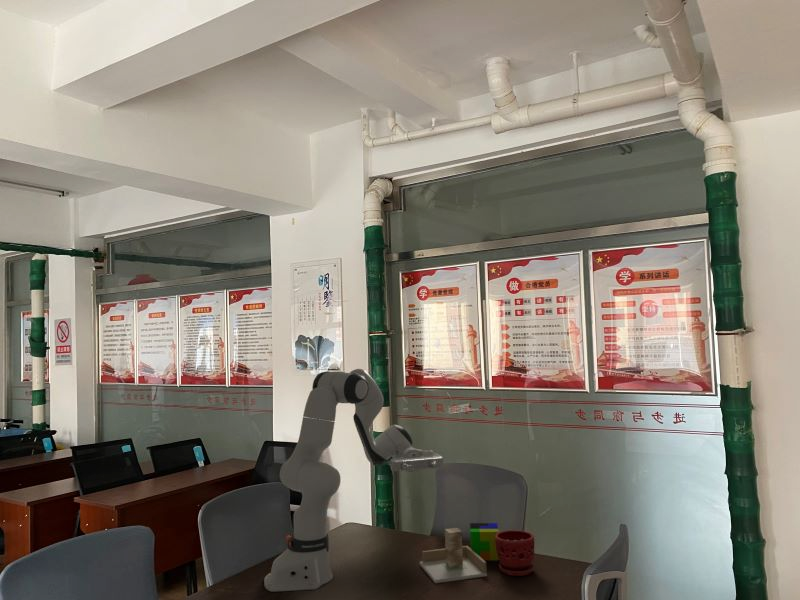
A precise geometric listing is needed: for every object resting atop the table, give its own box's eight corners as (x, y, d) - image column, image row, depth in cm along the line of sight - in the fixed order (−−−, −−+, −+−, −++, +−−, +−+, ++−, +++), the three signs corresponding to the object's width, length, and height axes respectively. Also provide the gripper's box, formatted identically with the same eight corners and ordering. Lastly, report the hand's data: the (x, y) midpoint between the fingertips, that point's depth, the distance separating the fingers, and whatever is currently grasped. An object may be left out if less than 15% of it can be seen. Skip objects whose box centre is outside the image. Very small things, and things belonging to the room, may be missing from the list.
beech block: (450, 569, 207) (449, 533, 208) (445, 564, 211) (444, 529, 212) (462, 567, 208) (461, 531, 209) (458, 563, 213) (457, 527, 213)
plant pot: (541, 568, 209) (539, 532, 209) (526, 581, 198) (525, 543, 199) (505, 561, 216) (504, 526, 217) (489, 573, 205) (488, 537, 206)
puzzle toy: (498, 550, 227) (497, 523, 227) (499, 560, 217) (498, 531, 217) (470, 550, 228) (470, 523, 228) (471, 560, 218) (470, 531, 218)
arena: (435, 583, 198) (434, 569, 199) (419, 564, 215) (419, 551, 215) (486, 576, 203) (486, 562, 203) (467, 558, 219) (467, 545, 220)
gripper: (385, 453, 235) (394, 460, 222) (436, 449, 241) (447, 456, 227) (386, 470, 235) (395, 478, 222) (436, 466, 240) (448, 473, 227)
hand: (422, 467), depth 225 cm, fingers open, 8 cm apart
